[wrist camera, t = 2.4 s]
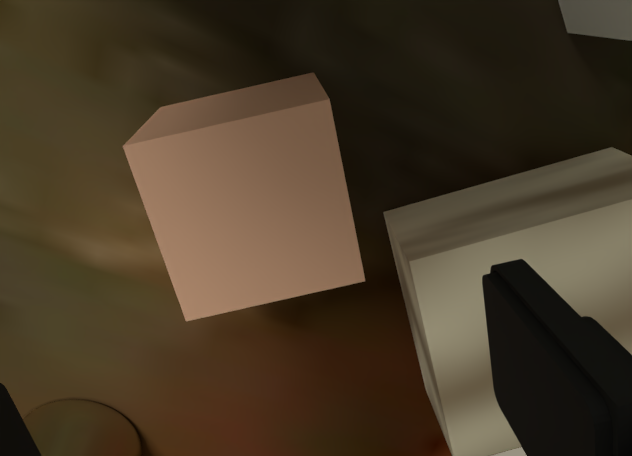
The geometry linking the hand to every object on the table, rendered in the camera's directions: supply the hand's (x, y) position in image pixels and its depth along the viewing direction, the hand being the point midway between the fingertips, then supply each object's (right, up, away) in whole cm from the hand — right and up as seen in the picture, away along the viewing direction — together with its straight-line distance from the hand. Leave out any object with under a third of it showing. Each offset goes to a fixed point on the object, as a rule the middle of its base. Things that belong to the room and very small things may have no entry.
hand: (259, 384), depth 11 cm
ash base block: (+10, +1, +15) cm, 18 cm away
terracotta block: (-1, +6, +12) cm, 13 cm away
